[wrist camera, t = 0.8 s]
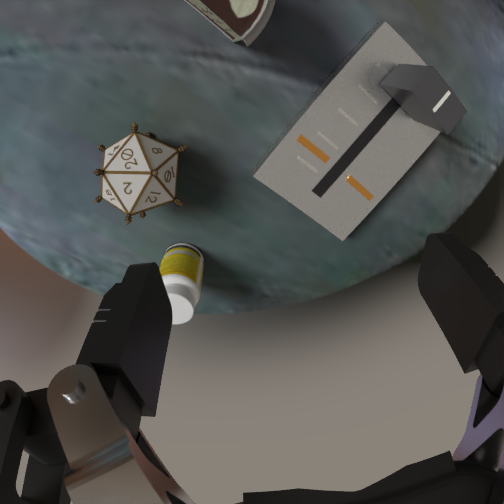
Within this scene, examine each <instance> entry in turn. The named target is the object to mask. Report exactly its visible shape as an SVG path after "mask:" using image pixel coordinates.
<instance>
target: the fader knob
mask: <svg viewBox="0 0 504 504" xmlns="http://www.w3.org/2000/svg"><path fill="white" fill-rule="evenodd" d="M380 85H381V86H382V87H383V88H384V89H385V90H386V91H387V92H388V93H389V94H390V95H391V96H392V97H393V98H394V99H395V100H396V101H397V102H398V103H399V105H400V106H401V107H402V108H403V109H404V110H405V111H406V112H407V113H408V114H409V116H410V117H411V118H412V119H413V120H414V121H417V122H419V123H421V124H424V125H426V126H429V127H431V128H433V129H436V130H438V131H440V132H442V133H445V134H447V135H448V134H449V133H450V132H451V131H452V129H453V128H454V127H455V126H456V124H457V123H458V122H459V121H460V120H461V118H462V117H463V116H464V115H465V113H466V112H467V110H466V109H465V108H464V106H463V105H462V103H461V102H460V100H459V99H458V98H457V96H456V95H455V94H454V92H453V91H452V90H451V88H450V87H449V86H448V84H447V83H446V82H445V80H444V79H443V78H442V77H441V75H440V74H439V73H438V72H437V70H436V69H435V68H434V67H433V66H424V65H412V64H398V65H397V66H396V67H395V68H394V69H393V71H392V72H391V73H390V74H389V75H388V76H387V77H386V79H385V80H384V81H383V82H382V83H381V84H380Z"/></svg>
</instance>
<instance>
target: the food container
mask: <svg viewBox="0 0 504 504" xmlns="http://www.w3.org/2000/svg"><path fill="white" fill-rule="evenodd" d="M184 1H185V2H187V3H188V4H189V5H190V6H192V7H193V8H194V9H195V10H197V11H198V12H199V13H200V14H201V15H203V16H204V17H205V18H206V19H207V20H209V21H210V22H211V23H212V24H213V25H214V26H216V27H217V28H218V29H219V30H220V31H221V32H222V33H223V34H225V35H226V36H227V37H228V38H229V39H230V40H231V41H232V42H233V43H234V42H237V41H240V40H243V41H244V42H245V44H246V46H249V45H250V44H251V43H252V42H253V41H254V40H255V39H256V38H257V37H258V36H259V34H260V33H261V32H262V30H263V29H264V28H265V26H266V24H267V22H268V20H269V18H270V16H271V14H272V11H273V8H274V5H275V0H184Z"/></svg>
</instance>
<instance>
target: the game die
mask: <svg viewBox="0 0 504 504" xmlns="http://www.w3.org/2000/svg"><path fill="white" fill-rule="evenodd" d="M131 127H132V130H133V133H131V134H129V135H128V136H126V137H124V138H123V139H121V140H119V141H118V142H116V143H114V144H113V145H111V146H110V147H108V148H107V149H106V148H105V146H103V145H98V147H99V150H101V151H104V154H103V161H102V170H100V169H96V170H95V171H94V173H95V174H96V176H97V175H98V176H99V175H101V196H98V197H97V198H96V199H95V202H98V203H99V202H100V201H101V200H102V199H104V200H106V201H107V202H109V203H110V204H112V205H113V206H115V207H116V208H118V209H119V210H121V211H122V212H124V213H125V214H127V217H126V220H125V221H126V223H127V225H128V224H129V223H130V222H131V219H132V217H131V216H132V215H135V214H138V213H140V216H141V217H142V218H144V217H145V215H146V214H145V212H144V211H147V210H150V209H153V208H155V207H158V206H161V205H164V204H167V203H170V202H173V201H174V202H175V204H177V206H178V205H181V206H183V204H182V202H181V201H180V200H179V199H176V186H177V172H178V159H179V152H183V151H185V149H186V148H187V146H181V147H179V148H178V149H176V148H174V147H171V146H169V145H167V144H165V143H162V142H160V141H158V140H156V139H153V138H151V134H150V132H148V133H146V135H144V134H142V133H140V132H137V130H138V125H137V124H136V123H135V122H134V124H133V125H132V126H131Z"/></svg>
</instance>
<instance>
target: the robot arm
mask: <svg viewBox="0 0 504 504" xmlns="http://www.w3.org/2000/svg"><path fill="white" fill-rule="evenodd" d="M418 286H419V290H420V293H421V295H422V297H423V299H424V300H425V302H426V304H427V305H428V307H429V309H430V310H431V312H432V314H433V316H434V317H435V319H436V321H437V323H438V324H439V326H440V328H441V330H442V331H443V333H444V335H445V337H446V338H447V340H448V342H449V344H450V346H451V348H452V350H453V352H454V354H455V355H456V358H457V359H458V362H459V364H460V365H461V367H462V369H463V371H464V373H468V372H471V371H474V370H477V369H479V370H480V373H481V374H480V376H479V377H478V379H477V383H476V388H475V393H474V397H473V402H472V407H471V411H470V415H469V419H468V423H467V427H466V431H465V434H464V436H463V438H462V440H461V442H460V444H459V445H458V447H457V448H456V450H455V452H454V454H453V456H451V453H450V451H448V452H445V453H442V454H440V455H437V456H434V457H432V458H429V459H426V460H423V461H420V462H417V463H414V464H410V465H407V466H405V467H403V468H402V469H400V470H398V471H396V472H395V473H393V474H391V475H389V476H387V477H386V478H384V479H382V480H380V481H378V482H376V483H374V484H372V485H371V486H368V487H366V488H364V489H362V490H359V491H354V492H344V491H323V490H310V489H299V488H298V489H290V490H281V491H268V492H252V493H243V502H240V503H236V504H504V284H503V282H502V281H501V280H500V279H499V277H498V276H495V273H494V271H493V270H492V269H491V268H490V267H489V268H488V264H487V263H486V262H485V261H484V260H483V259H482V258H481V256H480V255H478V254H477V253H475V252H474V251H472V250H471V249H470V248H468V247H466V246H465V245H464V244H463V243H462V242H461V241H460V239H459V238H457V236H456V235H455V234H454V233H452V232H443V233H434V234H430V235H429V236H428V237H427V239H426V243H425V248H424V253H423V257H422V262H421V266H420V270H419V274H418ZM98 309H99V311H98V312H97V313H96V315H95V318H94V323H92V325H91V327H90V329H89V332H88V334H87V337H86V339H85V342H84V344H83V346H82V349H81V351H80V354H79V356H78V359H77V362H76V364H75V365H71V366H68V367H66V368H64V369H62V370H60V371H59V372H58V373H57V374H56V375H55V376H54V377H53V379H52V380H51V382H50V384H49V386H48V388H43V389H39V390H34V391H30V392H24V391H23V390H22V389H21V388H20V386H19V385H18V384H17V383H15V382H14V381H11V380H5V381H2V382H0V504H70V502H71V501H72V502H73V504H195V503H194V501H193V500H192V499H191V498H190V497H189V496H188V494H187V493H186V492H185V491H184V490H183V489H182V488H181V487H180V486H179V485H178V484H177V482H176V481H175V480H174V478H173V477H172V476H171V474H170V473H169V472H168V470H167V469H166V467H165V466H164V464H163V463H162V461H161V460H160V459H159V457H158V456H157V454H156V453H155V451H154V450H153V448H152V447H151V445H150V443H149V442H148V440H147V439H146V437H145V435H144V434H143V432H142V431H141V429H140V428H139V426H140V420H141V416H151V417H155V415H156V409H157V403H158V397H159V391H160V385H161V379H162V374H163V368H164V363H165V356H166V352H167V346H168V341H169V336H170V331H171V326H172V318H173V316H172V306H171V302H170V299H169V297H168V294H167V291H166V288H165V285H164V282H163V279H162V276H161V273H160V270H159V267H158V265H157V264H156V263H155V262H152V263H143V264H133V265H130V266H129V267H128V269H127V271H126V274H125V276H124V278H123V280H122V283H116V284H115V285H114V286H113V287H112V288H111V289H110V290H109V291H108V292H107V293H106V294H105V295H104V297H103V299H102V302H101V304H100V306H99V308H98ZM23 450H24V451H25V452H27V453H28V454H30V455H29V459H28V464H27V469H26V474H25V479H24V484H23V490H22V495H21V497H19V495H18V493H17V491H16V479H17V474H18V469H19V465H20V460H21V456H22V452H23Z"/></svg>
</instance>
